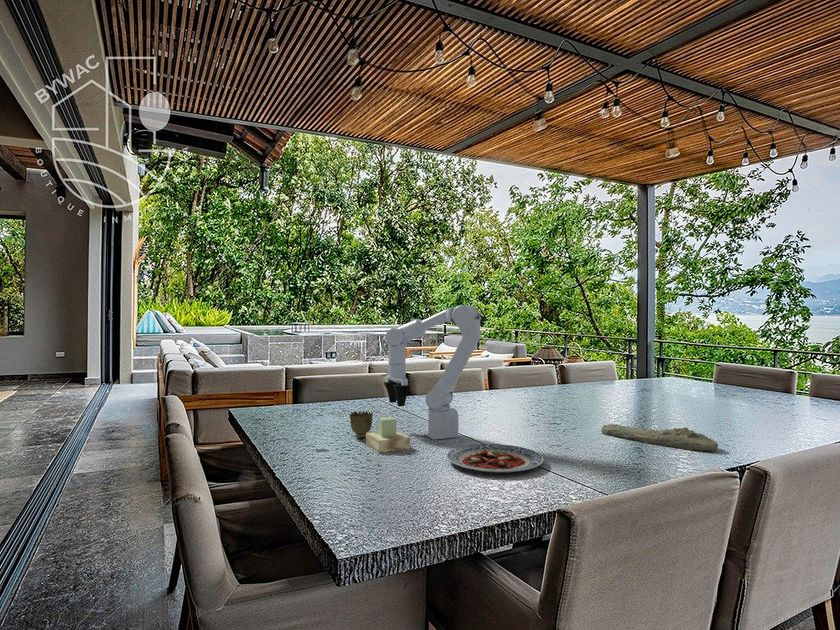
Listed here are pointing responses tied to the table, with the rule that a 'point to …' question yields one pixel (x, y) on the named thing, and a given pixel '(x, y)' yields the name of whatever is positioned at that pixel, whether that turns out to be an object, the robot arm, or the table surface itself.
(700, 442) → the elongated rock
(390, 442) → the birch block
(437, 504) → the table surface
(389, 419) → the green block
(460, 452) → the ceramic plate
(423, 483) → the table surface
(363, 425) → the cup
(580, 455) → the table surface
